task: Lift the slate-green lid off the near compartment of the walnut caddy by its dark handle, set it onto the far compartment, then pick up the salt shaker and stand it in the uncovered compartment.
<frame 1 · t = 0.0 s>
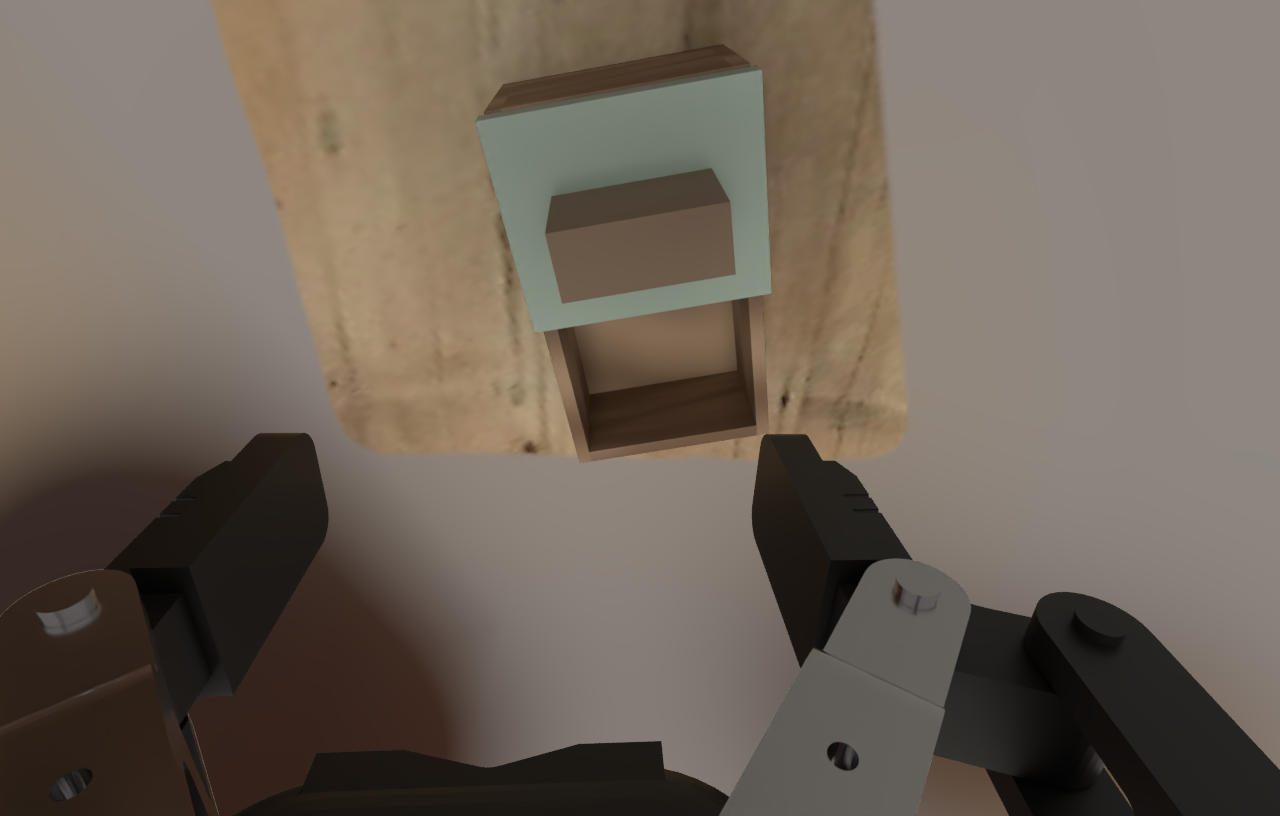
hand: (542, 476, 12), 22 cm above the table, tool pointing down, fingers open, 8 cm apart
caddy: (641, 247, 33), on the table
lid: (635, 206, 26), point 6 cm above the table, touching caddy
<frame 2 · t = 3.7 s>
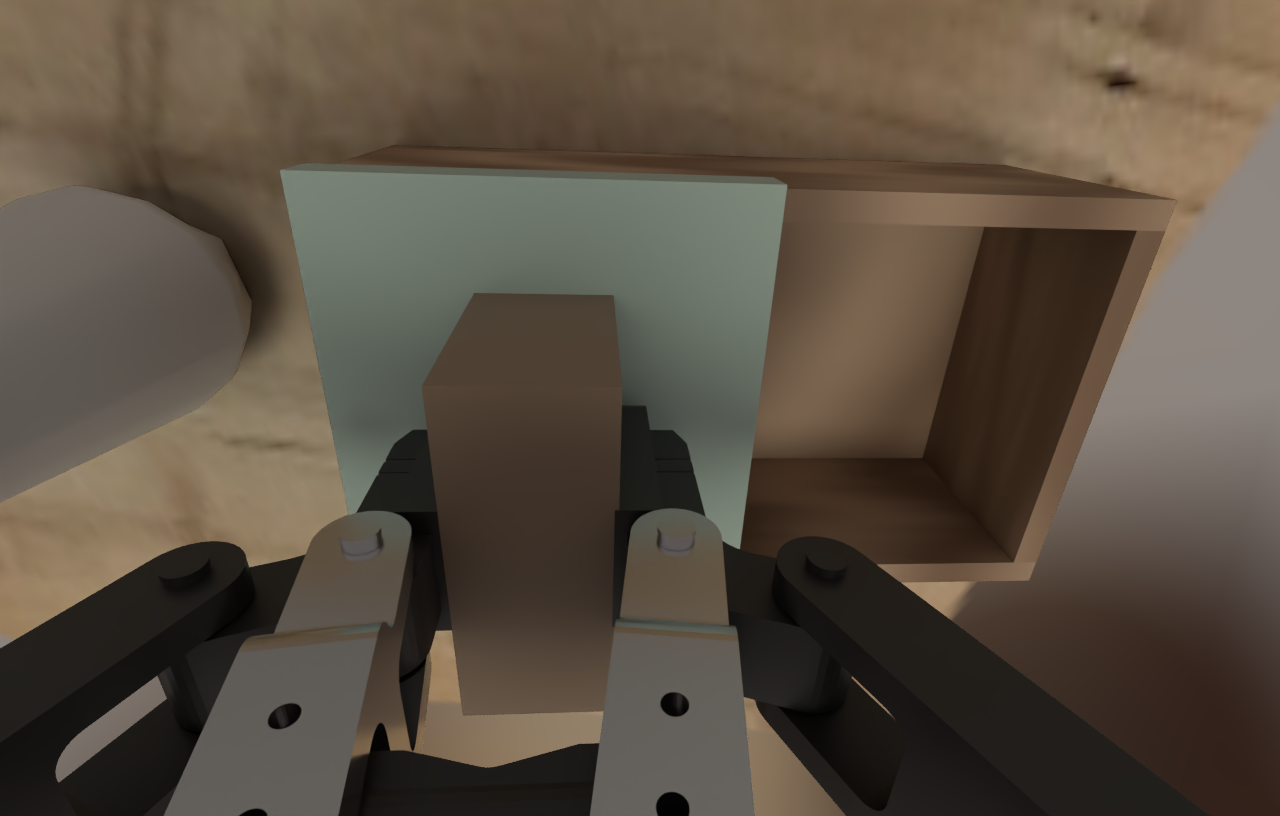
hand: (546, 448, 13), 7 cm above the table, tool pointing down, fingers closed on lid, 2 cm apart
caddy: (696, 325, 20), on the table
lid: (551, 416, 14), point 6 cm above the table, touching gripper
salt shaker: (176, 282, 18), on the table
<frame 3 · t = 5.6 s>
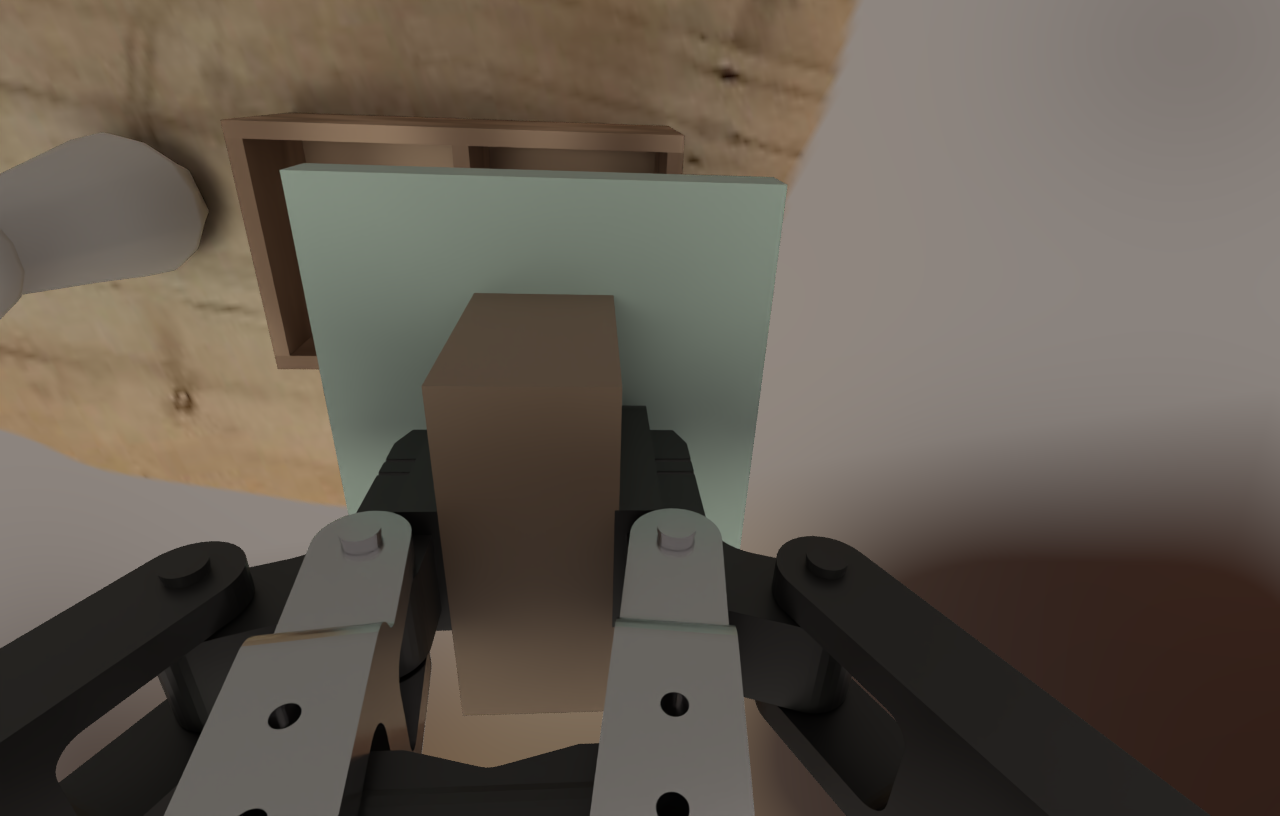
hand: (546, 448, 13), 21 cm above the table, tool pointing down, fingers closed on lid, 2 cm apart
caddy: (490, 228, 31), on the table
lid: (551, 416, 14), point 20 cm above the table, touching gripper
salt shaker: (162, 198, 30), on the table
when the fingers open (9 cm above the table, at t = 8.0 s): lid drops 2 cm, resting on caddy.
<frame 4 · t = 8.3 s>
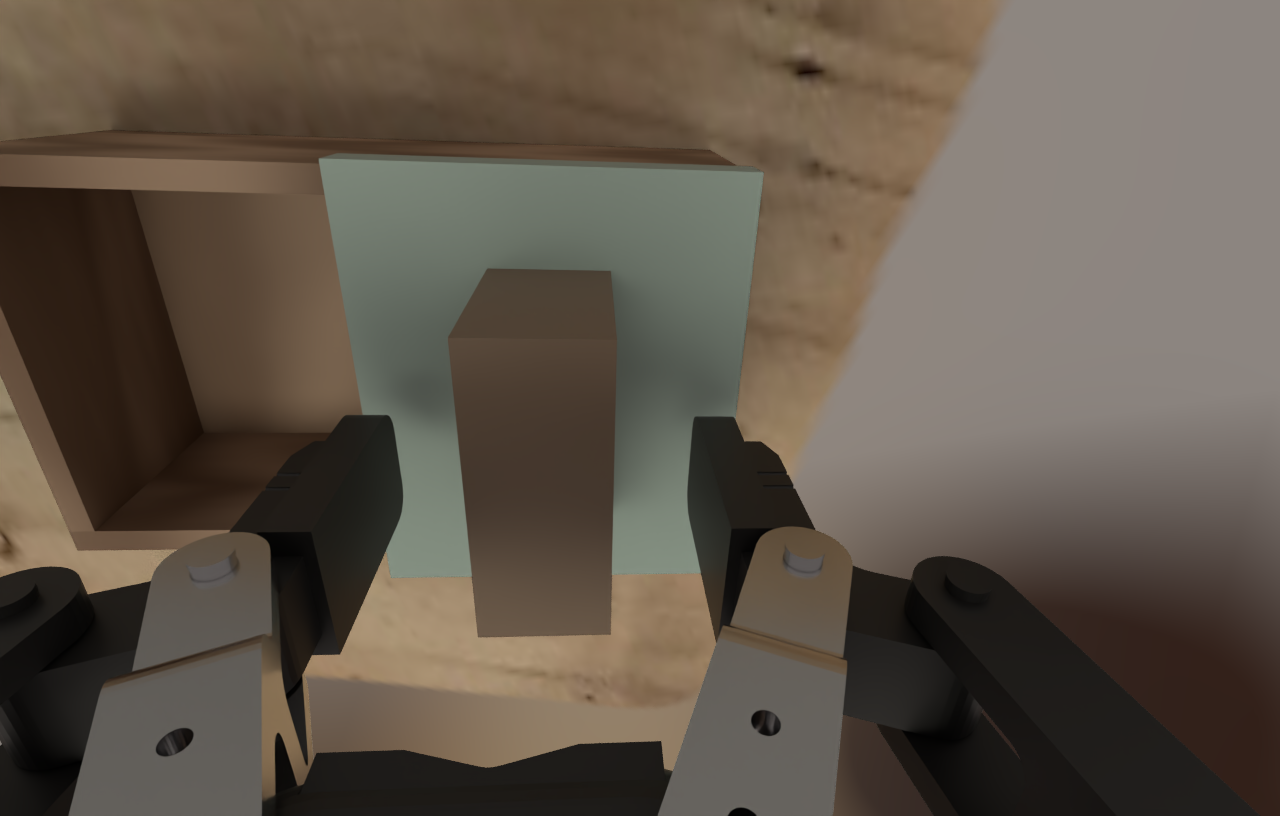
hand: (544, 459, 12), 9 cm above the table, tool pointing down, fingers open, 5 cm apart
caddy: (437, 304, 21), on the table
lid: (555, 383, 15), point 6 cm above the table, touching caddy
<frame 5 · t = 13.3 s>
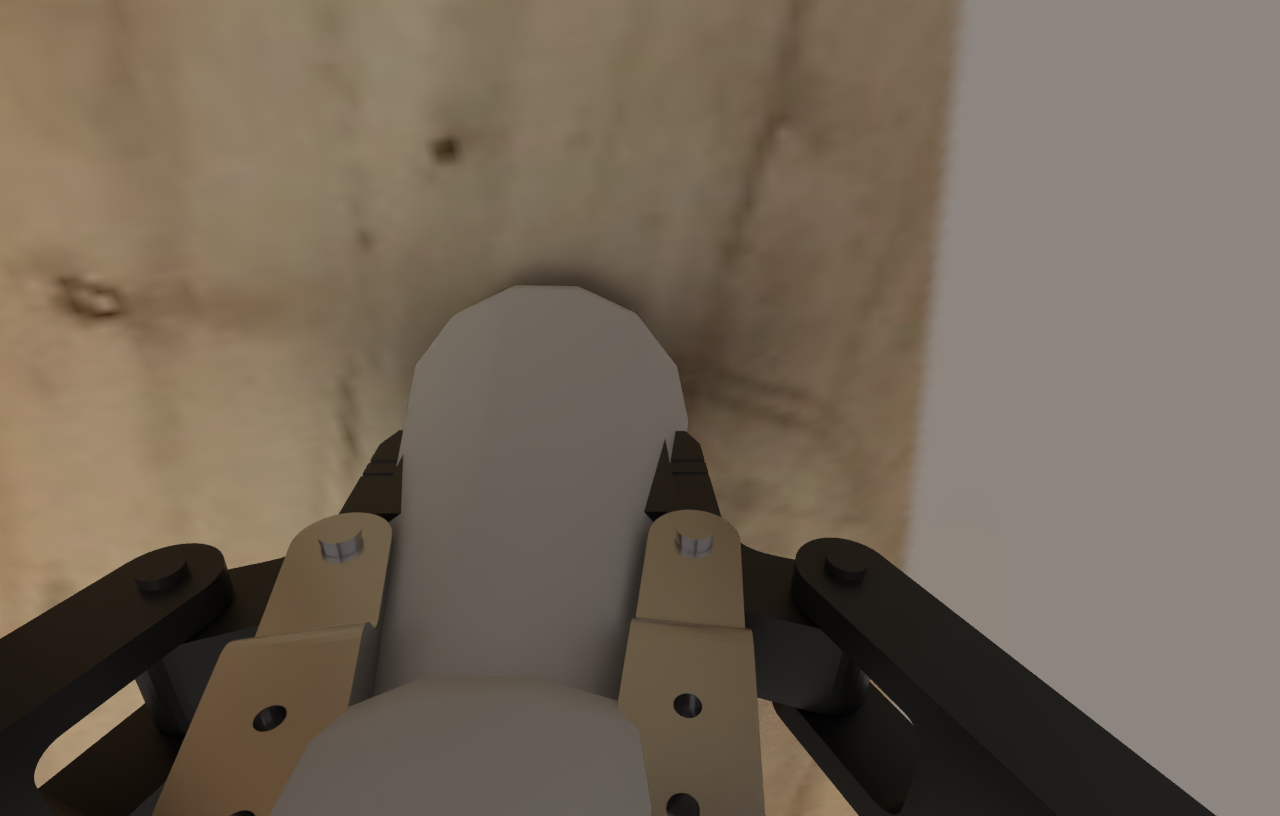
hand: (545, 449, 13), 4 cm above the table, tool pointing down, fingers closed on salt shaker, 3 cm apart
salt shaker: (556, 371, 16), on the table, touching gripper
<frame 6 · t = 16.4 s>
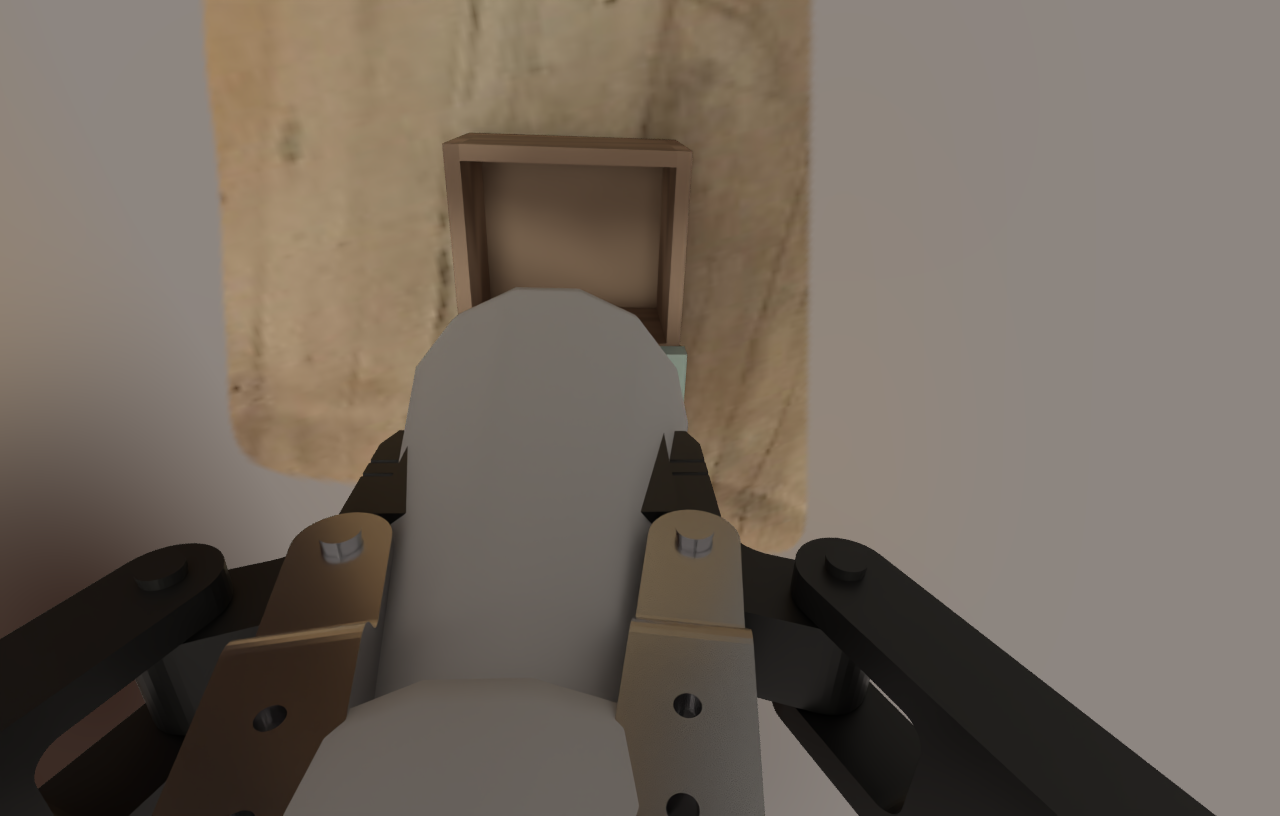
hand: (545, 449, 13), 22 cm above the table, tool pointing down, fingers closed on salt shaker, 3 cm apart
caddy: (575, 307, 34), on the table
lid: (572, 429, 31), point 6 cm above the table, touching caddy
salt shaker: (556, 372, 16), point 18 cm above the table, touching gripper
when the fingers open (7 cm above the table, at t = 19.4 s): salt shaker stays where it is, resting on caddy.
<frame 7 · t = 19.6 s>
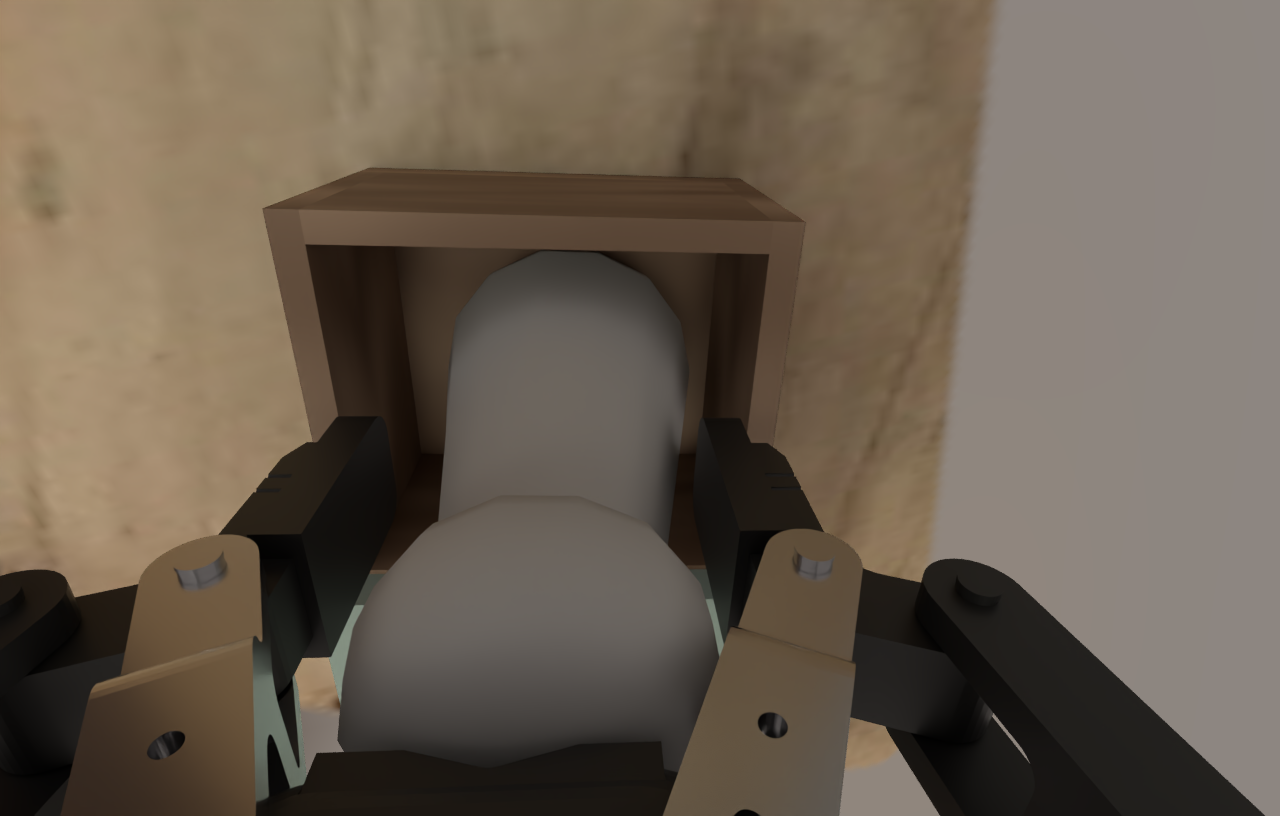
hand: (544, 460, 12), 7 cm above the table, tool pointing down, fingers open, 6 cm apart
caddy: (563, 449, 21), on the table
lid: (557, 696, 17), point 6 cm above the table, touching caddy
salt shaker: (573, 331, 18), point 1 cm above the table, touching caddy
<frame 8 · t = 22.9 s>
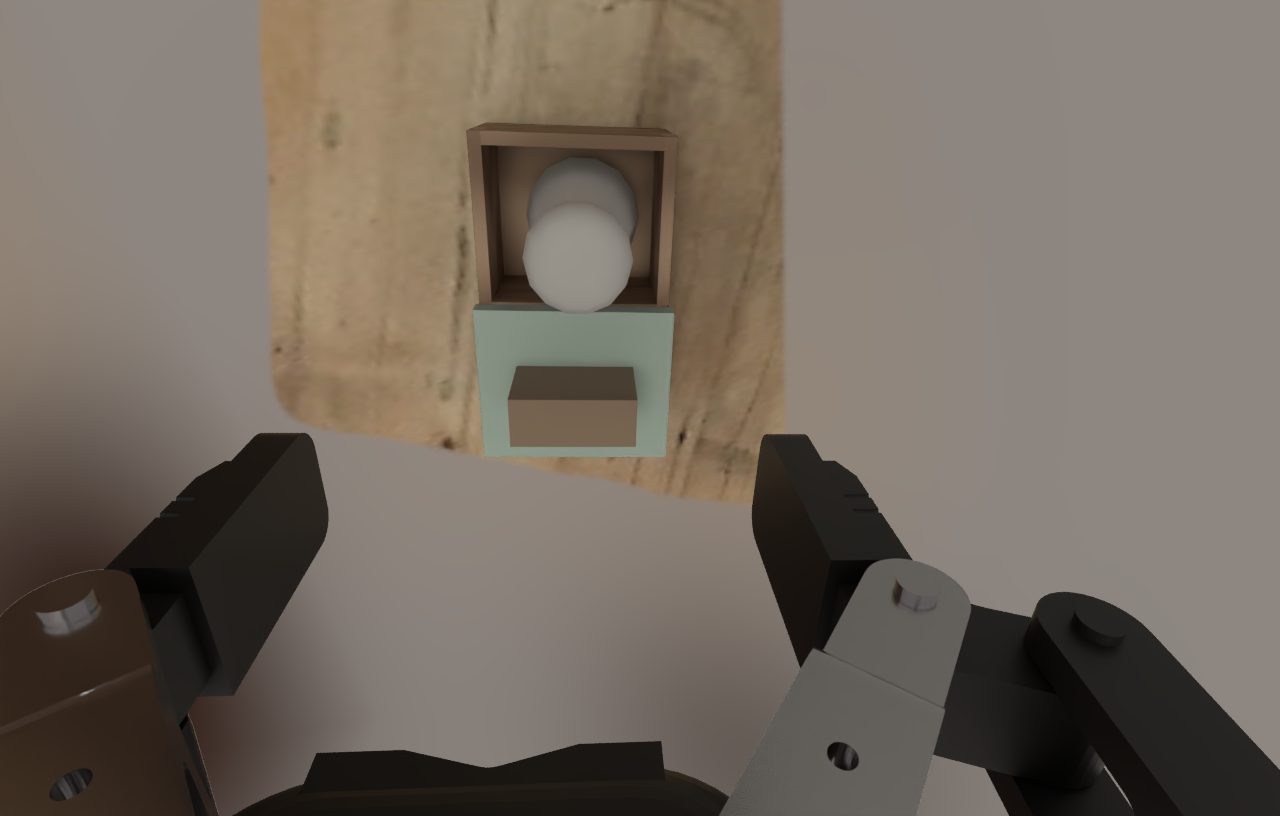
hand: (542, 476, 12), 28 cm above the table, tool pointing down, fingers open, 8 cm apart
caddy: (577, 277, 39), on the table
lid: (575, 380, 35), point 6 cm above the table, touching caddy
salt shaker: (583, 207, 36), point 1 cm above the table, touching caddy
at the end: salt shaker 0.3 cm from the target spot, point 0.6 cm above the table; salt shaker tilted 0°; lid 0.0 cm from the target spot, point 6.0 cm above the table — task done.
